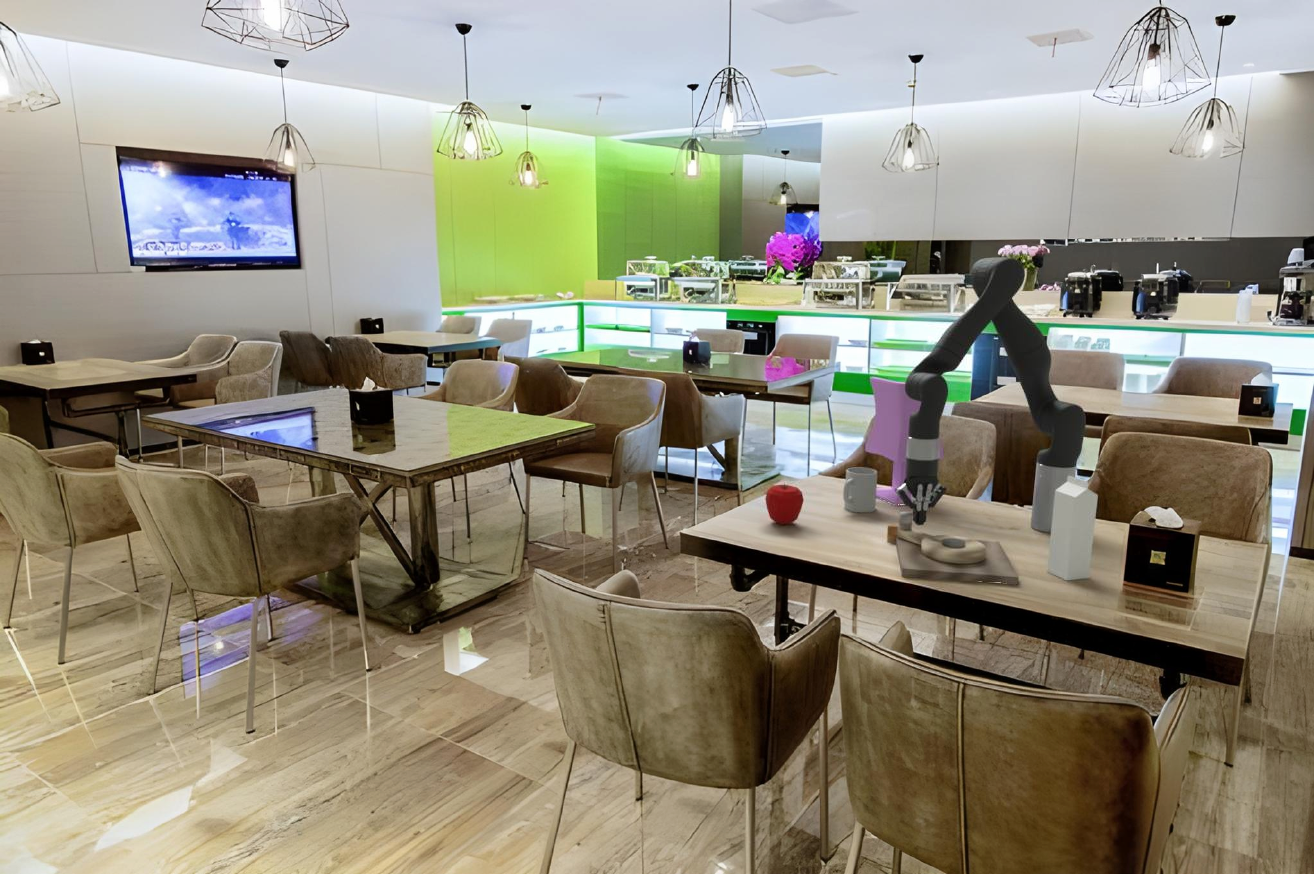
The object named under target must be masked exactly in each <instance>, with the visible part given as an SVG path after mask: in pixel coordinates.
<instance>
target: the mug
mask: <svg viewBox="0 0 1314 874" xmlns="http://www.w3.org/2000/svg"><path fill="white" fill-rule="evenodd" d="M877 483H878V471H877V470H876V469H875V468H874V469H873V468H870V467H861V466H857V467H855V466H854V467H849V468H847V469H846V470H845V483H844V485H843V493H842V495H843V501H844V503H843V505H844V507H845V508H844V510H846V509H847V510H846V511H848V510H849V512H851V511H854V512H853V513H857V512H869V513H873V512H875V511H876V505H877V503H876V502H877V498H876V489H877ZM872 511H873V512H872Z"/></svg>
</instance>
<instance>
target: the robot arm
mask: <svg viewBox="0 0 1314 874" xmlns="http://www.w3.org/2000/svg"><path fill="white" fill-rule="evenodd" d="M1025 276H1026V271H1025V267H1024V265H1023V263H1022V262H1021V261H1020V260H1019V259H1017V258H1013V257H1008V256H1006V257H1005V256H1004V257H1002V256H1001V257H998V256H997V257H985V258H981V259H979V260H977V261H976V262H975V263H974V264H973V266H972V268H971V271H970V283H971V286H972V289H973V291H974V293H975V295H976V297H977V298H978V299H977V300H976V301H975V302H974V303H973V305H971V307H970V308H969V309H967V311H966V312H964V313H963V314H962V315H961V316H959V317H958V318H957V319H956V320H954V322H952V323H951V325H949V327H947V328H946V330H945V331H944V333H943V334H942V335H941V337H940V338H939V340H938V341H937V343H936V345H935V346H934V347H933V348H932V350H931V352H930V353H929V354H928V355H927V356H925V358H923V359H922V360H921V361H920V362H919V364H917V365H916V366H915V367H914V368H913V369H912V370H911V371H910V373H909V374H908V376H907V377H906V379H905V382H906V383H905V392H906V394H907V396H908V397H909V398H911V399H913V400H917V401H921V406H920V409H919V411H917V412H914V413H912V414H911V415H910V419H909V432H908V442H907V451H906V478H905V480H904V484H903V485H902V486H901V487H900V488H898V487H897V488H895V492H896V493H897V494H898V496H899V497H900V498H901V500H902V501H903V502H904V504H905V505H904V506H906V507H907V508H909V509H911V510H912V523H913V522H914V524H915V526H924V525H925V523H926V521H927V512H928V509H930V508H934V507H935V506H936V505H937V504H938V502H939V501H940V500H941V499H942V497H943V495H945V493H946V492H947V490H948V488H947V487H946V486H944V485H942V484H941V483H940V480H939V477H938V475H939V465H940V459H939V437H940V426H941V425H940V424H941V420H942V419H941V418H942V416H943V413H944V410H945V407H946V404H947V400H948V395H949V385H948V383H947V380H946V379H945V378H944V376H942V375H944V374H945V373H950V372H953V371H955V370H957V368H958V367H959V366H960V365H961V363H962V361H963V360H964V359H965V356H966V355H967V353H969V351H970V349H971V348H972V346H973V344H974V343H975V342H976V340H977V339H978V337H980V335H981V334H982V333H983V331H985V329H986V328H987V326H988V325H989V324H990V323H992V324H993V326H994V327H993V328H994V330H995V331H996V333H997V335H998V337H999V339H1000V341H1001V344H1002V346H1003V348H1004V350H1005V353H1006V356H1007V357H1008V358H1007V359H1009V363H1010V364H1011V366H1012V368H1013V370H1014V372H1015V375H1016V377H1017V379H1018V381H1019V384H1020V386H1021V388H1022V390H1023V393H1024V396H1025V398H1026V402H1027V404H1028V408H1029V411H1030V414H1031V418H1032V421H1033V424H1034V426H1035V427H1036V429H1037V430H1038V431H1039V432H1040V433H1042V434H1044V435H1045V436H1049V437H1052V439H1051V443H1050V447H1049V448H1045V449H1042V450H1041V449H1040V450H1039V451H1038V453H1037V455H1036V456H1037V457H1036V467H1035V479H1034V485H1033V486H1034V488H1033V499H1032V508H1031V518H1030V527H1031V528H1032V529H1034V530H1036V531H1039V532H1044V533H1050V534H1051V528H1052V519H1053V509H1054V499H1055V490H1056V489H1058V488H1059V487H1061V486H1062V485H1063V484H1065V483H1066V482H1067V477H1068V476H1072V477H1075V478H1076V472H1077V464H1078V460H1079V458H1080V456H1081V453H1082V449H1083V443H1084V438H1085V431H1086V423H1087V420H1086V419H1087V418H1086V414H1085V413H1086V412H1085V411H1084V409H1083V408H1082V407H1081V406H1080V405H1078V404H1075V403H1071V402H1067V401H1062V400H1060V399H1058V397H1057V395H1056V394H1055V392H1054V390H1053V387H1052V385H1051V383H1050V372H1051V367H1052V354H1051V351H1050V350H1051V349H1050V348H1049V345H1048V343H1047V341H1046V339H1045V336H1044V334H1043V333H1042V331H1041V329H1040V328H1039V326H1037V325H1036V323H1035V322H1033V320H1032V319H1031V318H1030V317H1028V315H1026V313H1024V312H1023V311H1022V310H1021V309H1020V308H1019V306H1018V305H1017V304H1016V302H1015V301H1014V298H1013V297H1014V296H1016V294H1017V293H1018V292H1019V291H1020V289H1021V288H1022V286H1023V283H1024V282H1025V281H1024V280H1025ZM907 489H908V491H909V492H910V494H911V499H912V501H911V500H910V499H909V497H908V496H907V495H906V494H907Z"/></svg>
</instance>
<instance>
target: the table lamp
mask: <svg viewBox="0 0 1314 874" xmlns="http://www.w3.org/2000/svg"><path fill="white" fill-rule="evenodd" d="M869 381H870V385H871V387H872V391H873V392H872V393H873V397H874V406H875V408H874V410H875V411H874V412H875V415H874V420H873V425H872V428H871V431H870V433H869V436H868V438H867V439H866V442H865V444H864V445H865V448H864V451H865V452H867V453H870V454H873V455H879V456H882V457H884V458H887V459H888V460H890V461H892V462H893V466H892V482H891V483H892V484H891V487H882V488H881V487H880V488H876V497H878V498H877V499H879V498H881V499H882V500H881V499H880V500H881V501H883V500H885V501H887V502H886V503H888V502H890V503H892V504H895V505H898V504H899V505H898V506H901V505H900V504H904V502H903V501H902V500H901V498H900V497H899V496H898V494H897V493H896V492H895V488H897V487H898V488H900V487H901V486H902V485H903V484H904V480H905V478H906V451H907V442H908V432H909V419H910V415H911V414H912V413H914V412H917V411H919V409H920V406H921V401H917V400H913V399H911V398H909V397H908V396H907V394H906V392H905V383H906V381H905V382H903V381H895V380H890V379H886V378H881V377H876V376H870V377H869ZM944 452H945V451H944V448H943V445H942V441H941V437H940V436H939V460H941V459H944V455H945V454H944ZM906 495H907V496H908V497H909V499H910V500H911V501H912V499H911V494H910V492H909V491H908V489H907V494H906ZM885 501H884V502H885ZM890 503H889V504H890ZM892 504H891V505H892ZM895 505H894V506H895Z"/></svg>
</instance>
